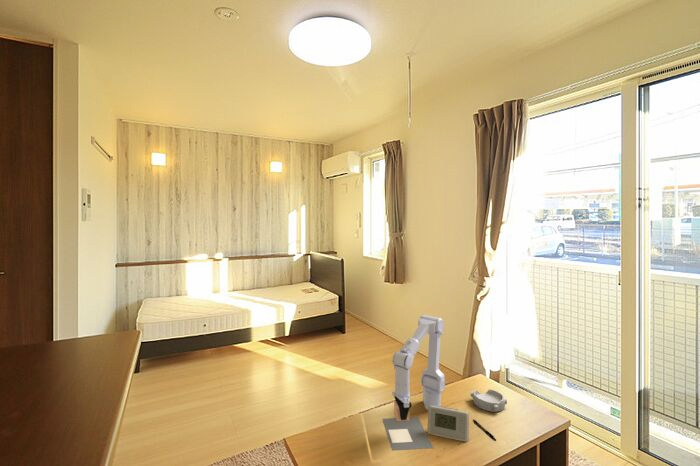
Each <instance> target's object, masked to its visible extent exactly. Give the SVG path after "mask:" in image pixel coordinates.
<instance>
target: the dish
mask: <svg viewBox="0 0 700 466" xmlns="http://www.w3.org/2000/svg"><path fill="white" fill-rule="evenodd" d="M470 396H471V397H472V401H473V404H474V405H475V406H476V407H477V408H479V409H481V410H484V411H487V412H490V413H491V412H493V413H498V412H501V411H503V410H504V409H505V407H506V405H508V399H507V398H505V396H504V395H503V394H502V393H501V392H499V391H497V390H495V389H492V388H490V389H488V390H487V391H486V392H484V393H481V392H479V391H478V390H477V389H475V390H473V391H470Z"/></svg>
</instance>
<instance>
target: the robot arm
mask: <svg viewBox="0 0 700 466" xmlns="http://www.w3.org/2000/svg"><path fill="white" fill-rule="evenodd" d="M444 326H445V322H444V320H443V318H441V317H435V316H431V315H427V314H421V315H420V316H419V319H418V321H417V328H416V330H415V332H414V333H413V336H411V338H408V339H407V340H406V341H405V342H404V344H403V346H402V347H401V348H400V350H398V351H395V352H394V354H393V356H392V360H391V361H392V364H393V369H394V370H395V371H394V373H395V375H394V376H395V377H394V391H392V392H391V395H392V397H394V400H395V401H394V402H397V405H398V407H399V411H400V418H401V420H406V419H407V415H408V412H409V409H411V408H412V405H413V403H412V402H411V401H410V396H411V393H410V374H411V373H410V372H411V368H412V366H413V362H414V359H415V356H416V354H417V352H418V351H419V349H420V348H421V347H420V343H421V342H422V340H423V339H424V338H425V337H426V335H427V334H428V335H429V336H428V356H427V367H426V368H425V369H424V370H423V371H422V374H421V378H420V385H421V386H422V387H423V388H422V403H423V405H424V408H425V410H426V411H428V408H429V405H434V406H441V401H442V392H443V391H444V390H445V388H446V381H445V374H444V373H443V372H442V371H441V370H440V368H439V367H440V352H441V336H442V335H444V329H445V327H444Z"/></svg>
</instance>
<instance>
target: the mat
mask: <svg viewBox="0 0 700 466" xmlns="http://www.w3.org/2000/svg"><path fill="white" fill-rule="evenodd" d="M419 418H420V417H419V416H409V421H397V420H396V417H391V418H390V417H389V418H382V422H383V426H384V428H385V432H386V435H387V439H388V441H389V445H390V447H391V451H406V450H409V451H410V450H424V449H434V446H433V444H432V442H431V439H430V438H429V436H428V433H427V431H426V429H425V428H424V426H423V424H422V423H421V420H420V419H419Z"/></svg>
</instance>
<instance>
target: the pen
mask: <svg viewBox="0 0 700 466" xmlns="http://www.w3.org/2000/svg"><path fill="white" fill-rule="evenodd" d="M472 422H473V424H474V425H475V426H476V427H477V428H480V429H481V430H482V431H484V433H485V434H486V435H488V437H490V438H491V439H493V441H497V439H496V438H495V436H494V435H493V434H492V433H491V432H490V431H488V430H487V429H486V428H484V426H482V425H481V424H480V423H479V422H478V421H477V420H476V419H473V420H472Z"/></svg>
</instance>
